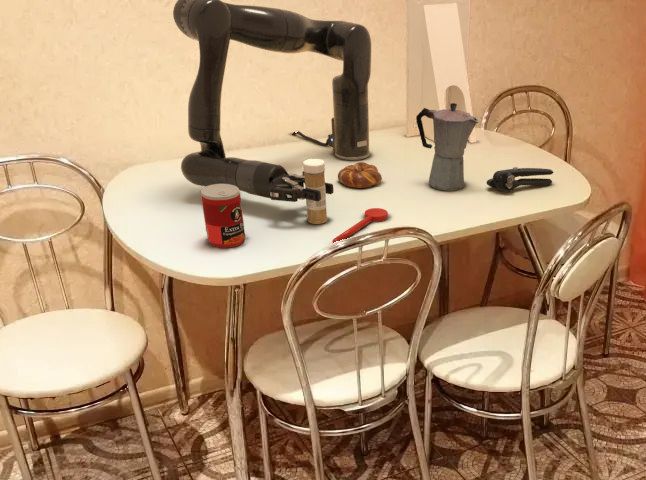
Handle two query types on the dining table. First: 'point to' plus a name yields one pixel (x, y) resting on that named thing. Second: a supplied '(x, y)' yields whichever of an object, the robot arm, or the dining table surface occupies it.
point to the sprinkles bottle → (316, 182)
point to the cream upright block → (436, 60)
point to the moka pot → (448, 145)
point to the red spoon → (364, 222)
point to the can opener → (507, 181)
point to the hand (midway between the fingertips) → (326, 192)
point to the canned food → (223, 215)
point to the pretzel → (359, 175)
